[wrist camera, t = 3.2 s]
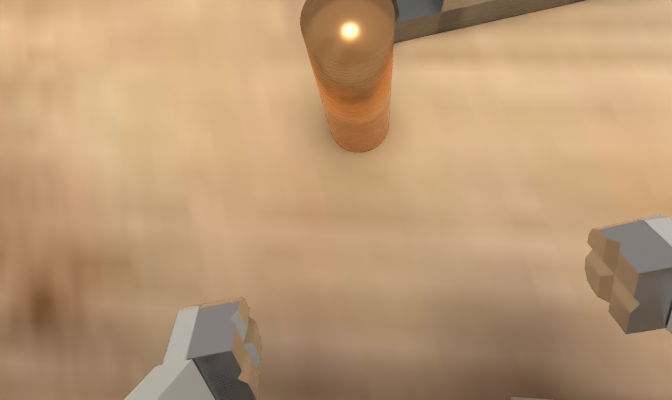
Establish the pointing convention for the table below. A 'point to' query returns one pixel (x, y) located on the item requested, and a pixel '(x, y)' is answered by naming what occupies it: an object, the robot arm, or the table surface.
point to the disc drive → (522, 399)
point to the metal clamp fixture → (457, 14)
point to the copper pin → (352, 66)
